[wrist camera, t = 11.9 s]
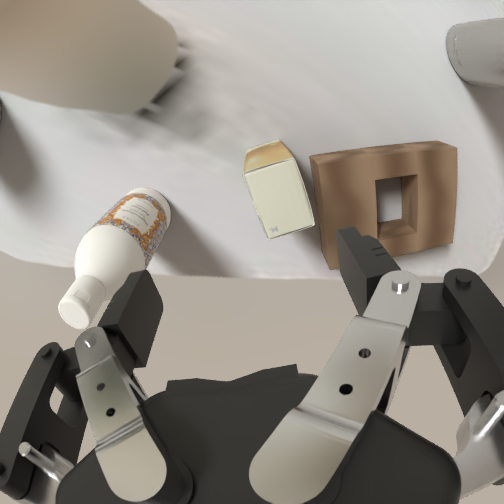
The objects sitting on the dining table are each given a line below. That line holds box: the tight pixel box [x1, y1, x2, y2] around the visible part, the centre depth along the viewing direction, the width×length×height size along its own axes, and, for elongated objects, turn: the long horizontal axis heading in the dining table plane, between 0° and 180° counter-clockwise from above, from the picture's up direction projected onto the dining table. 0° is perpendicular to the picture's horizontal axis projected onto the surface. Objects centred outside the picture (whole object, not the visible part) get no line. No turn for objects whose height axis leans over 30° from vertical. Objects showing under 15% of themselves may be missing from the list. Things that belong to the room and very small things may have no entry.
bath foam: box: [58, 188, 171, 329], centre depth 28 cm, size 7×7×20 cm
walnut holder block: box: [309, 141, 457, 270], centre depth 34 cm, size 18×13×4 cm
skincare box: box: [243, 140, 315, 240], centre depth 29 cm, size 6×4×12 cm
